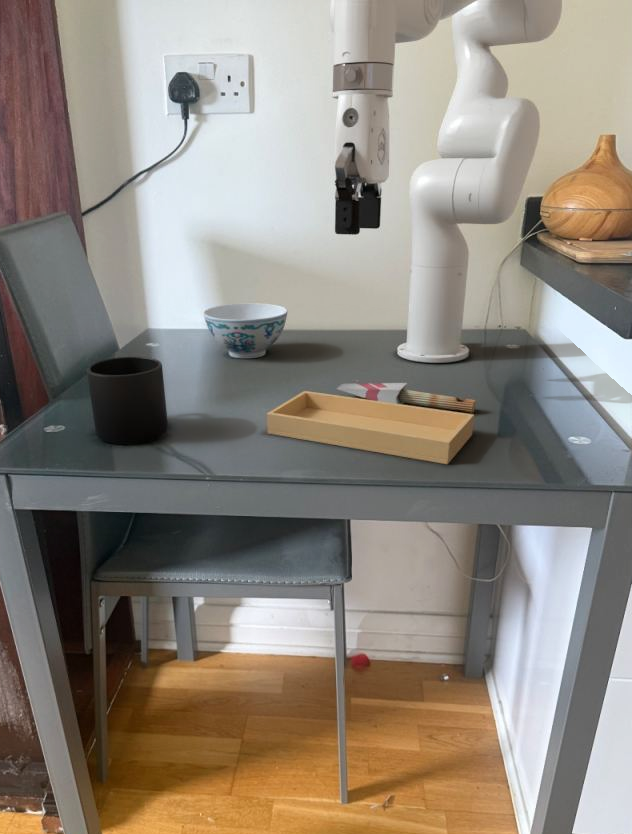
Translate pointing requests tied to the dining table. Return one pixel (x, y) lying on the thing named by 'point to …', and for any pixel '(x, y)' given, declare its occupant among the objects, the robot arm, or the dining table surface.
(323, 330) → the dining table surface
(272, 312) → the chinaware
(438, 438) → the brush tray
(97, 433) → the mug
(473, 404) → the folding fan
